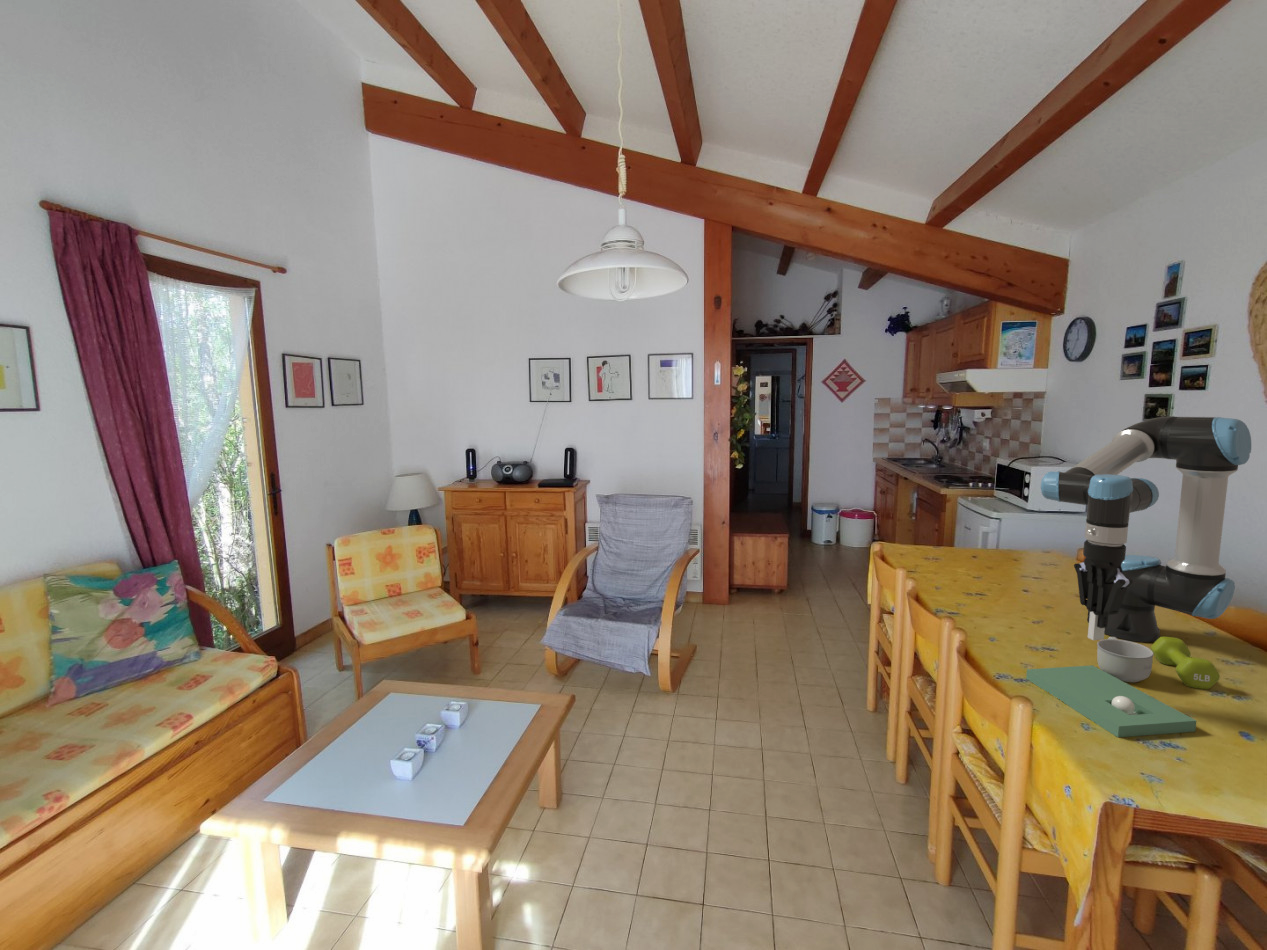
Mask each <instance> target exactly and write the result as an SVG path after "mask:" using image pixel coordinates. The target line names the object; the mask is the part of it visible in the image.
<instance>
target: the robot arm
mask: <svg viewBox="0 0 1267 950" xmlns="http://www.w3.org/2000/svg"><path fill="white" fill-rule="evenodd" d="M1251 453H1252V436H1251V431H1250V429H1249V427H1248V426H1247V424H1246V423H1245V422H1244V421H1243V420H1241V419H1237V418H1229V417H1221V416H1220V417H1219V416H1173V415H1172V416H1159V417H1155V418H1154V417H1153V418H1150V419H1147V420H1142V421H1140V422H1137V423H1134V424H1132V425H1129V426H1127V427H1126V428H1124V429H1122V430H1121V431H1119V432H1117V433H1116V434H1115V435H1114V436H1113V437H1112V439H1111V442H1109V443H1108V444H1106V445H1105V446H1103V447H1101V448H1100V449H1098V450H1097V451H1096V452H1094V453H1093V454H1091V455H1090V456H1088V457H1087V458H1085V459H1083V460H1082V461H1080V462H1079V463H1078V464H1076V465H1074V466H1073V467H1071V468H1070V469H1068V470H1067V471H1065V472H1064V471H1060V470H1059V471H1058V470H1057V471H1048V472H1046V473H1045V474H1044V475H1043V476H1042V479H1041V482H1040V492H1041V495H1042V496H1043V498H1045V499H1047V500H1051V501H1055V502H1056V501H1057V502H1058V503H1069V504H1075V505H1076V504H1077V505H1083V506H1087V510H1086V519H1085V530H1084V531H1085V533H1084V538H1085V541H1084V542H1083V551H1082V555H1083V557H1084V559H1083V561H1082V562H1081V563H1074V564H1073V567H1074V571H1075V572H1076V578H1077V584H1078V594H1079V602H1080V604H1081V606H1084V607H1086V609H1087V623H1088V629H1087V638H1088V639H1089V640H1092V641H1100V640H1104V639H1105V635H1108V636H1109V637H1116V638H1117V639H1120V640H1125V641H1130V642H1137V643H1139V642H1140V643H1154V642H1155V641H1156V640H1157V639H1159V638H1160V636H1161V635H1160V633H1161V631H1160V627H1158V623H1157V617H1156V614H1155V607H1160V608H1164V609H1167V610H1171V611H1176V612H1179V613H1182V614H1187V615H1190V616H1192V617H1199V618H1204V619H1208V620H1213V619H1217V618H1220V617H1221V616H1222V615H1223V614H1224V613H1225V611H1226V610H1227V609H1228V607H1229V605H1230V603H1231V601H1232V598H1233V596H1234V593H1235V589H1236V587H1235V581H1234V580H1232V579H1231V578H1228V577H1227V578H1226V573H1227V572H1226V571H1227V570H1226V569H1225V567H1224V566H1221V564H1220V563H1219V562H1220V551H1221V543H1222V533H1223V525H1224V519H1225V508H1226V501H1227V493H1228V492H1227V491H1228V484H1229V483H1228V482H1229V477H1230V476H1231V475H1232V474H1234V473H1236V472H1238V469H1239V466H1241V465H1245V464H1246V463H1248V461H1249V459H1250V454H1251ZM1148 459H1166V460H1175V461H1176V462H1175V469H1177V470H1178V471H1179V472H1181V474H1182V479H1181V490H1180V499H1179V500H1180V502H1179V509H1178V518H1177V519H1178V520H1177V531H1176V539H1175V540H1176V541H1175V550H1174V557H1173V558H1172V559H1170V560H1168V561H1167V562H1166V565H1162V561H1161V560H1160V559H1159V558H1157V557H1154V556H1148V555H1139V554H1138V555H1137V554H1135V555H1134V554H1130V555H1129V554H1126V551H1127V546H1126V545H1125V544H1127V543H1128V531H1129V521H1130V513H1134V512H1139V511H1141V512H1142V511H1145V510H1147V509H1148V508H1150V507H1153V506H1155V504H1156V503H1157V502H1158V500H1159V497H1160V492H1159V488H1158V487H1157V485H1156V484H1154V482H1152V481H1151V480H1148V479H1146V478H1142V477H1141V478H1140V477H1138V478H1137V477H1129V476H1127V475H1121V474H1120V473H1122V472H1123V471H1125V470H1126V469H1128V468H1130V466H1132V465H1134V464H1136V463H1141V462H1144V461H1147V460H1148Z"/></svg>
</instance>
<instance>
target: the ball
mask: <svg viewBox="0 0 1267 950" xmlns="http://www.w3.org/2000/svg"><path fill="white" fill-rule="evenodd" d="M1111 704H1112V705H1113V706H1115V707H1116V708H1118V709H1120V710H1121V711H1123V712H1125V713H1126V714H1128V715H1130V714H1132V713H1133V712H1134V710H1135V705H1134V703H1133V702H1132V701H1131V700H1130V699H1129V698H1127V697H1124V696H1117V697H1115V698H1113V700H1112V702H1111Z"/></svg>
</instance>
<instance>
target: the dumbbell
mask: <svg viewBox="0 0 1267 950" xmlns="http://www.w3.org/2000/svg"><path fill="white" fill-rule="evenodd" d="M1150 649H1151V650H1152V651H1153V653H1154V655H1153V657H1155V659H1156V660H1157V661H1158V662H1159V663H1161V664H1163V665H1167V666H1175V672H1176V673H1177V676H1178V678H1179V679H1180V681H1181V682H1182V684H1184V685H1185V686H1186V687H1189V688H1193V689H1198V690H1199V689H1201V690H1209V689H1210V688H1212V687H1213V686H1215V684H1216V683H1217V682H1218V681H1219V680H1220V678H1221V677H1220V674H1219V673H1220V672H1219V671H1218V670H1217V667H1216V666H1215V665H1214V664H1213V663H1212V662H1211V661H1210V659H1206V658H1201V657H1191V655H1192V653H1191V651H1190V649H1189V647H1188V646H1187V644H1186V643H1185V641H1183V640H1182V639H1181V638H1178V637H1172V636H1159V639H1157V640H1156V641H1154V642H1153V643H1152V645H1151V646H1150Z"/></svg>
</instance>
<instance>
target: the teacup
mask: <svg viewBox="0 0 1267 950" xmlns="http://www.w3.org/2000/svg"><path fill="white" fill-rule="evenodd" d="M1096 645H1097V647H1096V648H1097V649H1096V650H1097V652H1096V653H1097V655H1096V656H1097V657H1096V658H1097V659H1096V661H1097V664H1098V668H1099V669H1100V670H1102V671H1104V672H1106V673H1108V674H1110V675H1112V676H1114V677H1115V678H1117V679H1119V680H1121V681H1123V682H1125V683H1138V682H1141V681H1143V680H1146V679H1148V678H1149V677H1150V676H1151V674H1152V673H1151V672H1152V670H1153V669H1152V668H1153V659H1154V653H1153V651H1152V650H1151V648H1149V647H1147V646H1145V645H1143V644H1142V643H1141V644H1140V643H1139V642H1135V641H1130V640H1125V639H1119V638H1117V637H1113V636H1109V637H1108V638H1104V639H1103V640H1097V642H1096Z"/></svg>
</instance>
